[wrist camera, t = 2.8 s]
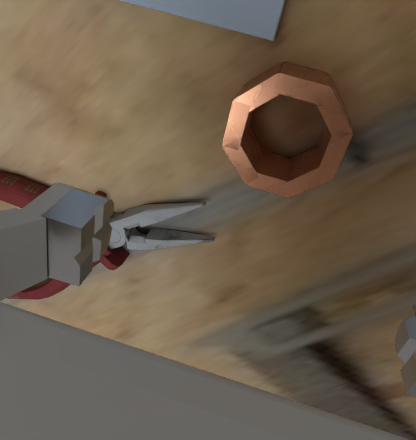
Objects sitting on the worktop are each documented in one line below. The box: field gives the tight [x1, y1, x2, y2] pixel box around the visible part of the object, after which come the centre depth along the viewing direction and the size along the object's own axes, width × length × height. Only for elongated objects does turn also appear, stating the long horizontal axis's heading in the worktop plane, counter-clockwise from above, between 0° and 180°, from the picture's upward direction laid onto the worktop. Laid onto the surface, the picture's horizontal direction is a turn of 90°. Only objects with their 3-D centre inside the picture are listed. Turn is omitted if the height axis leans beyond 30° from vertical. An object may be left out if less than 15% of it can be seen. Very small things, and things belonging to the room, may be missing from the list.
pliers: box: [0, 172, 215, 299], centre depth 29 cm, size 12×20×3 cm, turn 104°
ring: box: [222, 62, 353, 198], centre depth 21 cm, size 6×6×4 cm
